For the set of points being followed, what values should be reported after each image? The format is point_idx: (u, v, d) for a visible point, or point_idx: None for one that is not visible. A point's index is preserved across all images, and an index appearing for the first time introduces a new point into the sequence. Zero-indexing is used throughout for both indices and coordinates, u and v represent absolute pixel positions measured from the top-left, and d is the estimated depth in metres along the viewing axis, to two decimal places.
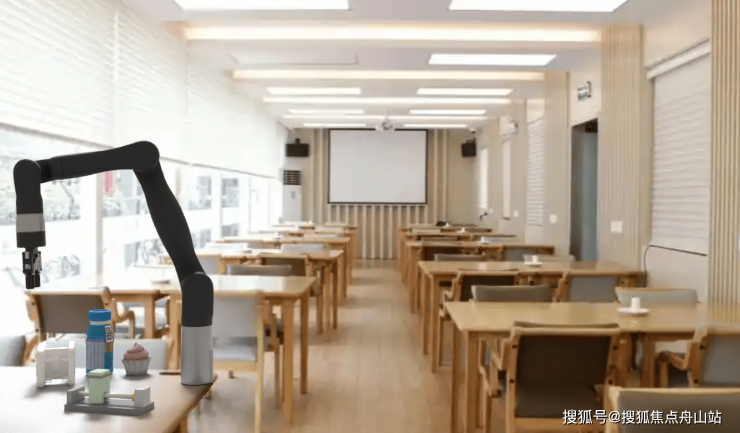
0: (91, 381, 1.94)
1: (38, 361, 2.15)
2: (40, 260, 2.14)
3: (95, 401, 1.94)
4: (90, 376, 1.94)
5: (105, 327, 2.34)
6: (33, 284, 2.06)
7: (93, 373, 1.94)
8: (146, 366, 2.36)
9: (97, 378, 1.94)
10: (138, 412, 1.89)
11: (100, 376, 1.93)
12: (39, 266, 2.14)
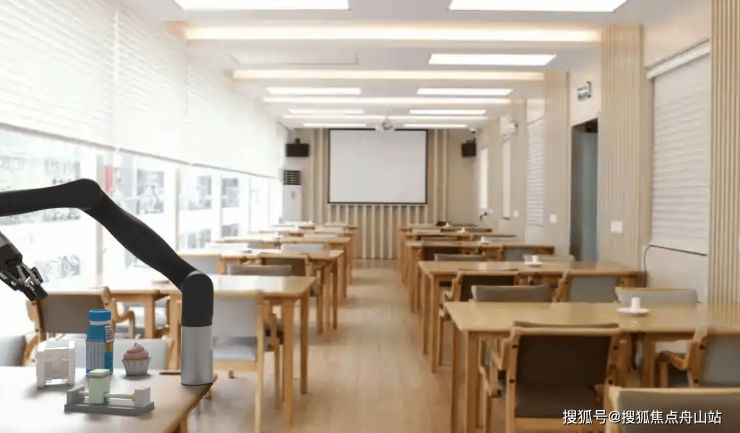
0: (91, 381, 1.94)
1: (38, 361, 2.15)
2: (30, 271, 2.03)
3: (95, 401, 1.94)
4: (90, 376, 1.94)
5: (105, 327, 2.34)
6: (33, 293, 1.98)
7: (93, 373, 1.94)
8: (146, 366, 2.36)
9: (97, 378, 1.94)
10: (138, 412, 1.89)
11: (100, 376, 1.93)
12: (31, 276, 2.03)
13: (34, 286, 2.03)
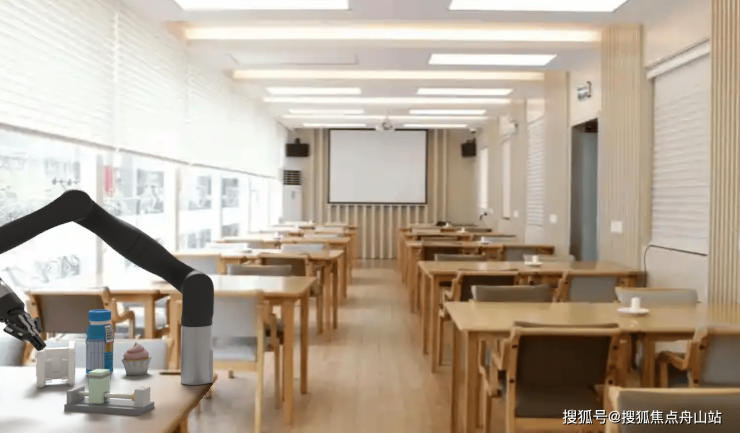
0: (91, 381, 1.94)
1: (38, 361, 2.15)
2: (31, 321, 2.01)
3: (95, 401, 1.94)
4: (90, 376, 1.94)
5: (105, 327, 2.34)
6: (40, 343, 1.98)
7: (93, 373, 1.94)
8: (146, 366, 2.36)
9: (97, 378, 1.94)
10: (138, 412, 1.89)
11: (100, 376, 1.93)
12: (30, 326, 2.00)
13: None
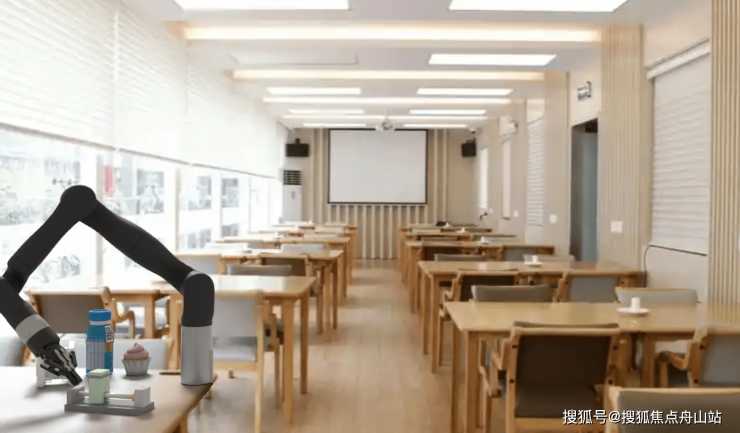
0: (91, 381, 1.94)
1: (38, 361, 2.15)
2: (67, 355, 1.99)
3: (95, 401, 1.94)
4: (90, 376, 1.94)
5: (105, 327, 2.34)
6: (76, 378, 1.96)
7: (93, 373, 1.94)
8: (146, 366, 2.36)
9: (97, 378, 1.94)
10: (138, 412, 1.89)
11: (100, 376, 1.93)
12: (66, 360, 1.98)
13: None
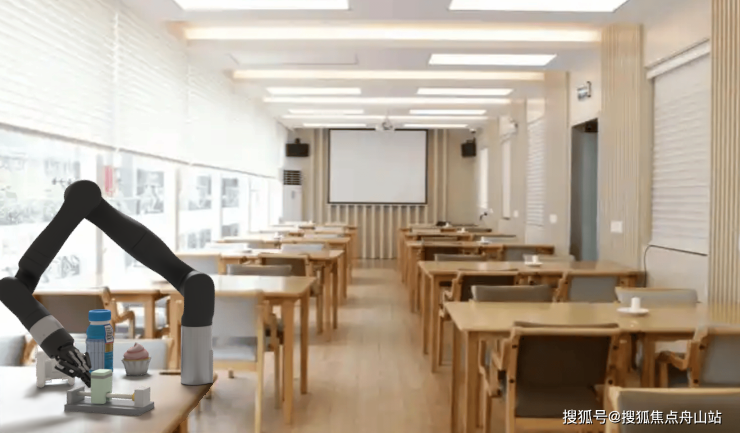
0: (93, 381, 1.94)
1: (38, 361, 2.15)
2: (81, 357, 1.99)
3: (97, 401, 1.94)
4: (93, 376, 1.94)
5: (105, 327, 2.34)
6: None
7: (95, 373, 1.94)
8: (146, 366, 2.36)
9: (99, 378, 1.93)
10: (138, 412, 1.89)
11: (102, 376, 1.93)
12: (81, 362, 1.97)
13: None
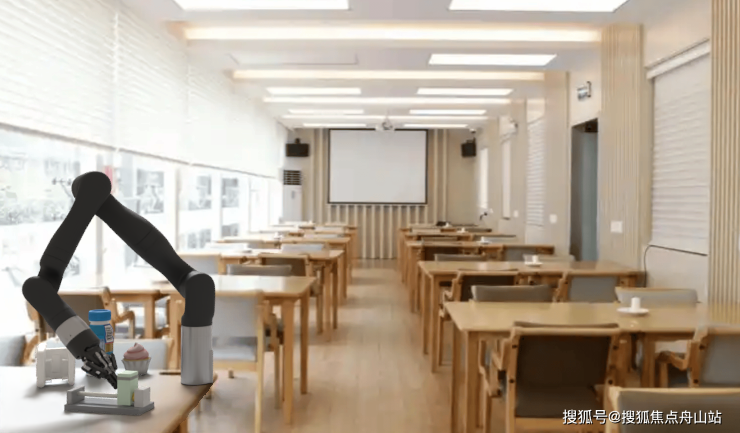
0: (120, 383, 1.92)
1: (38, 361, 2.15)
2: (107, 358, 1.97)
3: (124, 403, 1.92)
4: (119, 377, 1.92)
5: (105, 327, 2.34)
6: None
7: (122, 375, 1.92)
8: (146, 366, 2.36)
9: (126, 379, 1.92)
10: (138, 412, 1.89)
11: (129, 377, 1.92)
12: (107, 363, 1.96)
13: None
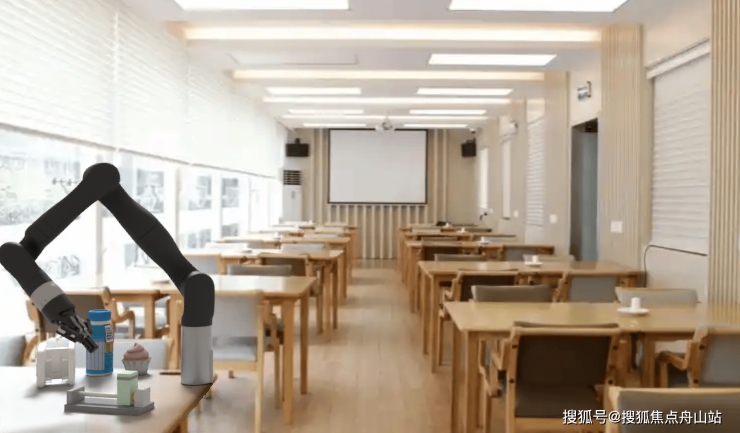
0: (119, 383, 1.92)
1: (38, 361, 2.15)
2: (82, 322, 1.99)
3: (123, 403, 1.92)
4: (119, 377, 1.92)
5: (105, 327, 2.34)
6: (92, 345, 1.96)
7: (121, 375, 1.92)
8: (146, 366, 2.36)
9: (126, 379, 1.92)
10: (138, 412, 1.89)
11: (129, 377, 1.92)
12: (82, 327, 1.97)
13: None
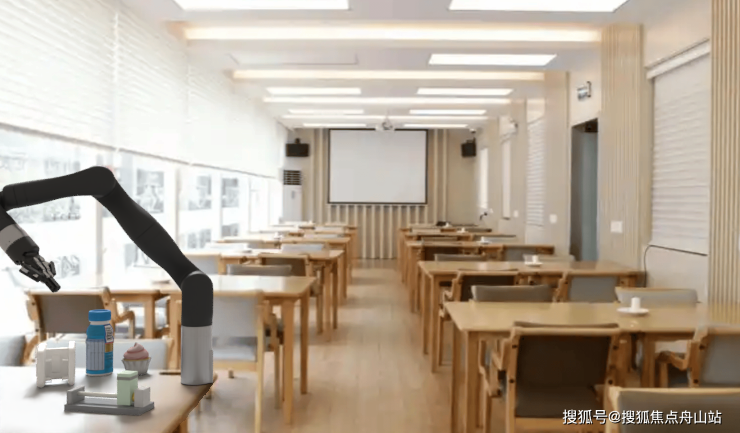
0: (119, 383, 1.92)
1: (38, 361, 2.15)
2: (46, 264, 2.06)
3: (123, 403, 1.92)
4: (119, 377, 1.92)
5: (105, 327, 2.34)
6: (54, 284, 2.03)
7: (121, 375, 1.92)
8: (146, 366, 2.36)
9: (126, 379, 1.92)
10: (138, 412, 1.89)
11: (129, 377, 1.92)
12: (45, 268, 2.05)
13: None
